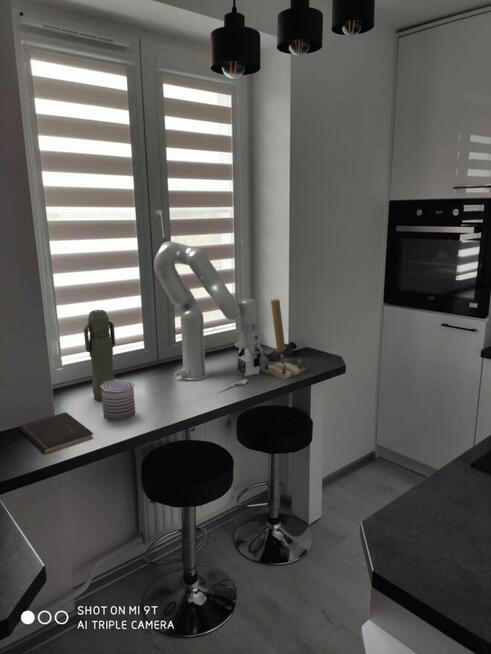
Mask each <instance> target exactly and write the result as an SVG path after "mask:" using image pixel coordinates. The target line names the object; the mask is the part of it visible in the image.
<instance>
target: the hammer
mask: <svg viewBox="0 0 491 654" xmlns="http://www.w3.org/2000/svg"><path fill="white" fill-rule="evenodd" d="M270 307H271V314H272V320H273V327H274V336H275V337H274V338H275V345H276V348H275V350H273V351H271V352H269V353H268V354H267V353H263V355H264V357H265V358H266V359H267V360H271V361H276V362H277V361H279V360H280V361H281V355H284V359H285V358H288V356H290V355H292V354H293V353H294V350H296V349H297V344H296V343H295V342H293V341H290V342H289V343H285V335H284V325H283V317H282V312H281V311H282V309H281V303H280V299H278V298H276V299H272V300H270Z"/></svg>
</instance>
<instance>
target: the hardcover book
mask: <svg viewBox="0 0 491 654" xmlns="http://www.w3.org/2000/svg"><path fill="white" fill-rule="evenodd" d="M19 427H20V431H21V432H22V433H23V434H24V435H25V436H26V438H28V439H29V440H30V441H31V443H33V444H34V445H35V446H36V447H37V448H38V450H40V451H41V452H42V453H43V454H44V455H45V454H46V453H49V452H53V451H56V450H59V449H62V448H65V447H68V446H71V445H75V444H77V443H81V442H85V441H86V440H91V439H93V435H94V432H92V431H91V429H89V428H87V427H86V425H83V424H82V423H81V422H80V421H79V420H77V419H76V418H74V417H73V416H72V415H70V414H69V413H68V412H61V413H58V414H54V415H51V416H48V417H44V418H41V419H36V420H34V421H30V422H27V423H23V424H21V425H20V426H19Z"/></svg>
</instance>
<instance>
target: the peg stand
mask: <svg viewBox="0 0 491 654" xmlns="http://www.w3.org/2000/svg"><path fill="white" fill-rule="evenodd" d="M302 361H303V360H302V358H301V359H300V358H298V359H297V365H296V364H293V363H292V364H291V363H288V362H285V358H284V355H281V359H280V362H277V363H274V364H271V365H269V359H267V358H266V359H264V367H262V368H260V369H261V372H262V373H265V374H267V375H271V376H274V377H277V378H280V379H284V380H285V379H288V378H290V377H293V376H295V375H299V374H301V372H302V373H304V372H306V367H304V366H302V365H303V363H302Z"/></svg>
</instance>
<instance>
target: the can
mask: <svg viewBox="0 0 491 654" xmlns="http://www.w3.org/2000/svg"><path fill="white" fill-rule="evenodd" d="M134 386H135V384H134V383H133V382H131V380H129V379H128V380H127V379H120V378H119V379H118V378H115V380H110V381H105V382H104V383H103V384H102V385H101V386H100V387H101V388H102V389H101V391H102V401H101V402H102V410H103V411H102V413H103V419H105V420H106V421H108V422H115V423H116V422H117V423H119V422H124V421H129V420H130V419H133V418H134V417H135V414H136V405H135V404H136V403H135V390H134Z"/></svg>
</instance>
